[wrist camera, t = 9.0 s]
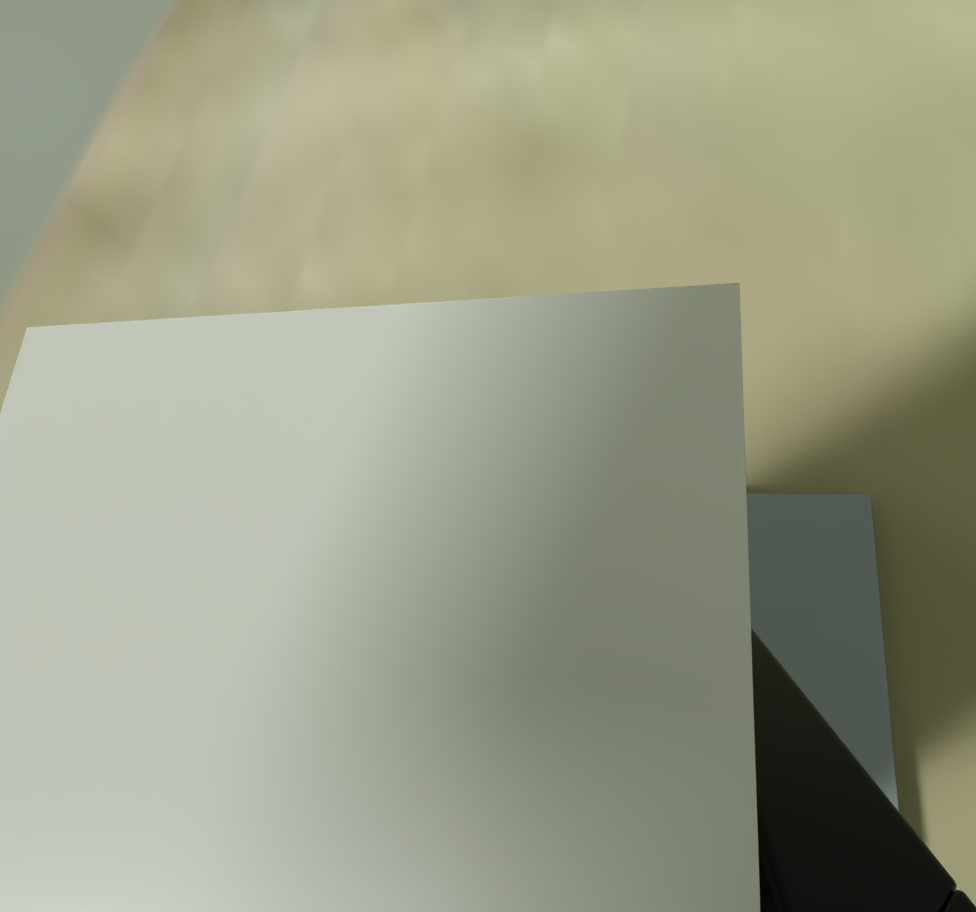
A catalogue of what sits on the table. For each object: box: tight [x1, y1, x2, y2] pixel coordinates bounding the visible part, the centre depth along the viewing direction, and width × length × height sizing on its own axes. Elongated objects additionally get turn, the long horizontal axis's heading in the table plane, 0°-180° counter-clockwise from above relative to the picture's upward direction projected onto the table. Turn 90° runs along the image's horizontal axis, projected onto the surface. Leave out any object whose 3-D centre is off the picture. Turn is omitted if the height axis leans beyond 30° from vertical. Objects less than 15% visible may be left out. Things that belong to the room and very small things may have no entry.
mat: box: [746, 493, 899, 811], centre depth 16 cm, size 11×11×1 cm
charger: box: [0, 283, 760, 912], centre depth 9 cm, size 4×5×12 cm
